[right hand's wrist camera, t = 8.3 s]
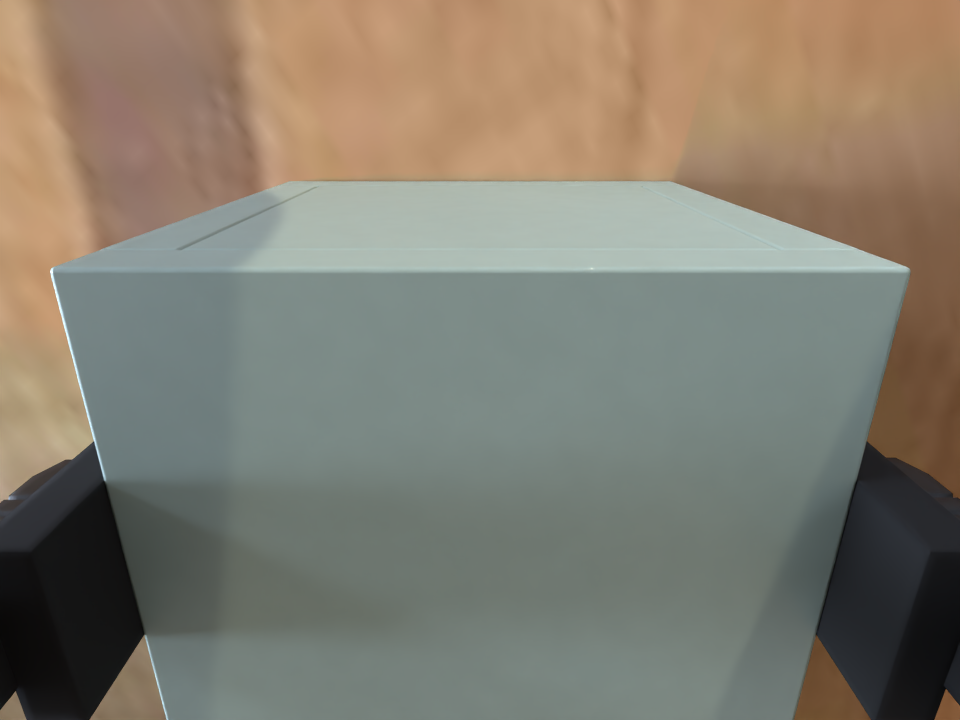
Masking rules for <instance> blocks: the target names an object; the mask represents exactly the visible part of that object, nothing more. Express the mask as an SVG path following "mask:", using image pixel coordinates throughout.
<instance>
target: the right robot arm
mask: <svg viewBox="0 0 960 720" xmlns="http://www.w3.org/2000/svg"><path fill="white" fill-rule="evenodd" d="M816 635H817V636H818V638H819V639H820V641H821V642H822V644H823V646H824V647H825V649H826V650H827V652H828V653H829V655H830V656H831V658H832V660H833V661H834V663H835V664H836V666H837V667H838V669H839V670H840V672H841V673H842V675H843V677H844V678H845V680H846V681H847V683H848V684H849V686H850V687H851V689H852V691H853V692H854V694H855V695H856V697H857V698H858V700H859V701H860V703H861V705H862V706H863V708H864V709H865V711H866V712H867V714H868V715H869V717H870V718H871V720H934V719H935V716H936V713H937V711H938V708H939V705H940V703H941V700H942V697H943V695H944V692H945V689H947V690H948V692H949V693H950V694H951V695H952V696H953V698H954V699H955V700H956V701H957V703H958V704H959V705H960V499H959V498H953V494H952V493H951V492H950V491H949V490H947V489H946V488H945V487H944V486H942V485H941V484H940V483H939V482H938V481H936V480H935V479H934V478H933V477H931V476H930V475H929V474H927V473H925V472H923V471H921V470H919V469H917V468H915V467H913V466H911V465H909V464H907V463H905V462H903V461H901V460H899V459H897V458H886V457H885V456H883V455H882V454H881V453H880V452H879V451H877V450H876V449H875V448H874V447H873V446H872V445H870V444H869V443H868V442H866V446H865V449H864V453H863V457H862V461H861V465H860V468H859V472H858V476H857V480H856V484H855V488H854V491H853V495H852V499H851V503H850V507H849V511H848V514H847V518H846V522H845V526H844V530H843V534H842V537H841V541H840V545H839V549H838V553H837V557H836V560H835V564H834V568H833V572H832V576H831V579H830V583H829V587H828V591H827V595H826V599H825V602H824V606H823V610H822V614H821V618H820V622H819V625H818V629H817V633H816ZM143 636H144V631H143V627H142V623H141V619H140V615H139V611H138V608H137V604H136V600H135V596H134V592H133V588H132V585H131V581H130V577H129V573H128V569H127V565H126V562H125V558H124V554H123V550H122V546H121V542H120V539H119V535H118V531H117V527H116V523H115V519H114V515H113V512H112V508H111V504H110V500H109V496H108V492H107V489H106V485H105V481H104V477H103V473H102V469H101V466H100V462H99V458H98V454H97V450H96V446H95V443H94V442H93V443H92V444H90V445H89V446H88V447H87V448H86V449H84V450H83V451H82V452H81V453H80V454H79V455H77V456H76V457H75V458H74V459H73V460H64V461H62V462H60V463H58V464H56V465H54V466H52V467H50V468H49V469H47V470H45V471H43V472H41V473H39V474H37V475H35V476H33V477H32V478H30V479H29V480H28V481H27V482H25V483H24V484H23V485H22V486H21V487H19V488H18V489H17V490H16V491H14V492H13V493H12V494H11V495H9V499H8V500H3V501H2V502H1V503H0V710H1V708H2V707H3V706H4V705H5V703H6V702H7V701H8V700H9V698H10V697H11V696H12V695H13V693H14V692H15V691H16V692H17V695H18V698H19V700H20V703H21V706H22V708H23V711H24V714H25V716H26V719H27V720H90V718H91V716H92V715H93V713H94V712H95V710H96V709H97V707H98V706H99V704H100V702H101V701H102V699H103V698H104V696H105V695H106V693H107V692H108V690H109V688H110V687H111V685H112V684H113V682H114V681H115V679H116V678H117V676H118V675H119V673H120V671H121V670H122V668H123V667H124V665H125V664H126V662H127V661H128V659H129V657H130V656H131V654H132V653H133V651H134V650H135V648H136V647H137V645H138V643H139V642H140V640H141V639H142V637H143Z"/></svg>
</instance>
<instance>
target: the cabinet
mask: <svg viewBox="0 0 960 720" xmlns="http://www.w3.org/2000/svg"><path fill="white" fill-rule="evenodd" d="M50 274H51V277H52V281H53V285H54V289H55V293H56V297H57V300H58V304H59V308H60V312H61V316H62V320H63V323H64V327H65V331H66V335H67V339H68V343H69V347H70V350H71V354H72V358H73V362H74V366H75V370H76V373H77V377H78V381H79V385H80V389H81V393H82V396H83V400H84V404H85V408H86V412H87V416H88V419H89V423H90V427H91V431H92V435H93V439H94V443H95V446H96V450H97V454H98V458H99V462H100V466H101V469H102V473H103V477H104V481H105V485H106V489H107V492H108V496H109V500H110V504H111V508H112V512H113V515H114V519H115V523H116V527H117V531H118V535H119V539H120V542H121V546H122V550H123V554H124V558H125V562H126V565H127V569H128V573H129V577H130V581H131V585H132V588H133V592H134V596H135V600H136V604H137V608H138V611H139V615H140V619H141V623H142V627H143V631H144V635H145V638H146V642H147V646H148V650H149V654H150V658H151V661H152V665H153V669H154V673H155V677H156V681H157V684H158V688H159V692H160V696H161V700H162V704H163V707H164V711H165V715H166V719H167V720H794V717H795V713H796V710H797V706H798V702H799V698H800V694H801V690H802V687H803V683H804V679H805V675H806V671H807V668H808V664H809V660H810V656H811V652H812V648H813V645H814V641H815V637H816V633H817V629H818V625H819V622H820V618H821V614H822V610H823V606H824V602H825V599H826V595H827V591H828V587H829V583H830V579H831V576H832V572H833V568H834V564H835V560H836V557H837V553H838V549H839V545H840V541H841V537H842V534H843V530H844V526H845V522H846V518H847V514H848V511H849V507H850V503H851V499H852V495H853V491H854V488H855V484H856V480H857V476H858V472H859V468H860V465H861V461H862V457H863V453H864V449H865V446H866V442H867V438H868V434H869V430H870V426H871V423H872V419H873V415H874V411H875V407H876V403H877V400H878V396H879V392H880V388H881V384H882V380H883V377H884V373H885V369H886V365H887V361H888V357H889V354H890V350H891V346H892V342H893V338H894V335H895V331H896V327H897V323H898V319H899V315H900V312H901V308H902V304H903V300H904V296H905V292H906V289H907V285H908V281H909V277H910V269H909V268H908V267H906V266H903V265H900V264H897V263H895V262H892V261H889V260H886V259H884V258H881V257H878V256H875V255H872V254H870V253H867V252H864V251H861V250H859V249H857V248H854V247H852V246H849V245H846V244H843V243H840V242H838V241H835V240H832V239H829V238H827V237H824V236H821V235H818V234H815V233H813V232H810V231H807V230H804V229H802V228H799V227H796V226H793V225H790V224H788V223H785V222H782V221H779V220H777V219H774V218H771V217H768V216H765V215H763V214H760V213H757V212H754V211H752V210H749V209H746V208H743V207H740V206H738V205H735V204H732V203H729V202H727V201H724V200H721V199H718V198H715V197H713V196H710V195H707V194H704V193H702V192H699V191H696V190H693V189H690V188H688V187H685V186H682V185H679V184H676V183H674V182H671V181H289V182H287V183H284V184H281V185H278V186H275V187H272V188H270V189H267V190H264V191H261V192H259V193H256V194H253V195H250V196H248V197H245V198H242V199H239V200H236V201H234V202H231V203H228V204H225V205H223V206H220V207H217V208H214V209H212V210H209V211H206V212H203V213H200V214H198V215H195V216H192V217H189V218H187V219H184V220H181V221H178V222H176V223H173V224H170V225H167V226H164V227H162V228H159V229H156V230H153V231H151V232H148V233H145V234H142V235H140V236H137V237H134V238H131V239H128V240H126V241H123V242H120V243H117V244H115V245H112V246H109V247H106V248H104V249H102V250H99V251H97V252H94V253H91V254H88V255H85V256H83V257H80V258H77V259H74V260H72V261H69V262H66V263H63V264H61V265H58V266H55V267H53V268H52V269H51V273H50Z"/></svg>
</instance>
